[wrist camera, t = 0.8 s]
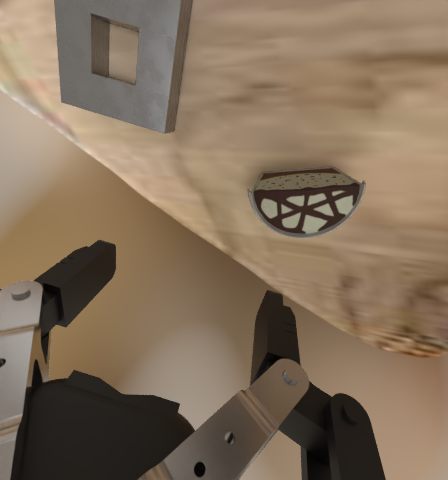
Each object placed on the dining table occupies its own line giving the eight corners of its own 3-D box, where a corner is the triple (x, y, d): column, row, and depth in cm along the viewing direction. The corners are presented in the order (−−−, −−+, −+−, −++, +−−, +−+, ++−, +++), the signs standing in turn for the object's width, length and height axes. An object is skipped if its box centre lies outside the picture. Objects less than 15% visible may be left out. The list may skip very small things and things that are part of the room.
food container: (254, 213, 38) (249, 244, 29) (251, 173, 35) (245, 194, 27) (340, 209, 36) (362, 241, 27) (344, 165, 33) (371, 185, 24)
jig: (72, -88, 26) (22, -137, 21) (199, -52, 25) (181, -93, 20) (79, 102, 35) (45, 101, 29) (173, 131, 34) (156, 135, 29)
